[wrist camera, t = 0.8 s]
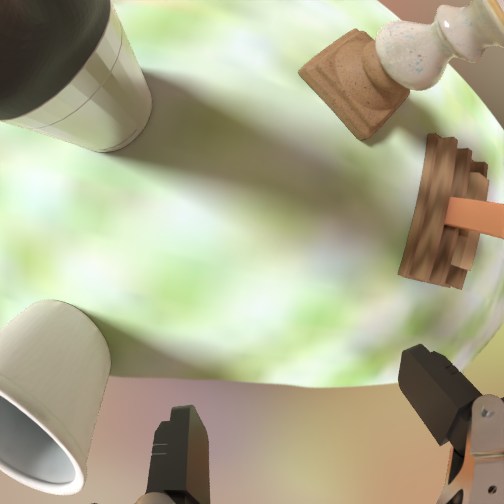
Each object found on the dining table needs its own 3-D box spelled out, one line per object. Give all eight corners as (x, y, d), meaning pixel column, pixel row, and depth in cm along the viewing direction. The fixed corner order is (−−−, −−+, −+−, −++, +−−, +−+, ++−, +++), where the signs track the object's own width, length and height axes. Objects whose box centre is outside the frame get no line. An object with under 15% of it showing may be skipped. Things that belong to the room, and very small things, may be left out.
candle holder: (349, 32, 27) (480, -56, 4) (403, 95, 30) (557, 58, 7) (295, 72, 27) (444, -52, 5) (359, 142, 31) (551, 119, 8)
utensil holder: (103, 291, 29) (34, 389, 12) (129, 397, 32) (109, 507, 15) (6, 293, 26) (-78, 359, 9) (39, 389, 29) (-6, 474, 13)
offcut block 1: (448, 263, 35) (470, 271, 31) (437, 259, 35) (459, 267, 30) (458, 223, 34) (481, 228, 30) (447, 218, 34) (470, 223, 29)
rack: (443, 284, 38) (463, 293, 34) (397, 274, 35) (418, 284, 31) (470, 163, 35) (490, 164, 30) (427, 134, 32) (450, 131, 28)
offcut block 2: (460, 217, 34) (482, 221, 30) (449, 211, 34) (472, 215, 29) (466, 179, 33) (489, 180, 29) (456, 171, 33) (479, 172, 28)
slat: (438, 223, 33) (520, 243, 20) (431, 220, 33) (515, 240, 20) (443, 199, 33) (526, 211, 19) (436, 195, 33) (521, 207, 19)
